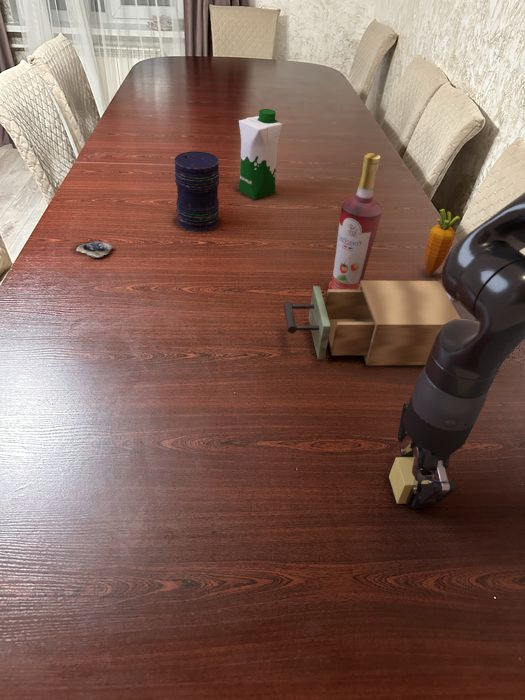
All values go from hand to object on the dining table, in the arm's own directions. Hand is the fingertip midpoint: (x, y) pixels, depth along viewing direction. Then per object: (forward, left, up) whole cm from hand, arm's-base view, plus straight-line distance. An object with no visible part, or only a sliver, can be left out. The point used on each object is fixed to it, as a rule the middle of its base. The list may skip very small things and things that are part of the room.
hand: (408, 487), depth 71 cm
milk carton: (+15, -92, 0) cm, 93 cm away
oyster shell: (+52, -61, 0) cm, 80 cm away
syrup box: (-21, -39, 0) cm, 44 cm away
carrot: (-20, -53, 0) cm, 57 cm away
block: (0, 0, 0) cm, 0 cm away
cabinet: (-7, -31, 0) cm, 32 cm away
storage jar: (+30, -75, 0) cm, 81 cm away
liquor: (0, -46, 0) cm, 46 cm away
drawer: (+5, -31, +1) cm, 31 cm away
